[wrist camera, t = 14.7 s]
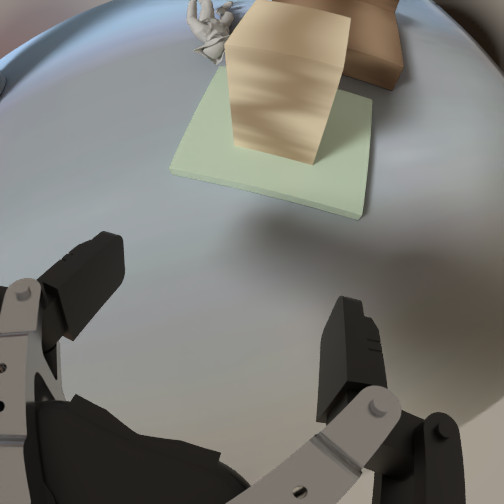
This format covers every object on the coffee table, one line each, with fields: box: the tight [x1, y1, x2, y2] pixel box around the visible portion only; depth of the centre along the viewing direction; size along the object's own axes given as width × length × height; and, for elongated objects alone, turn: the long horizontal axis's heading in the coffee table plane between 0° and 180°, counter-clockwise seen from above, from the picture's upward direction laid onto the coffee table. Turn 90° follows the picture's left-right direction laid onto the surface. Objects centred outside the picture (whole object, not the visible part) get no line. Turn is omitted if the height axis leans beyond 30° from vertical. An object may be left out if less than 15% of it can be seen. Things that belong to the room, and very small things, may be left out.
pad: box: [169, 66, 372, 220], centre depth 19 cm, size 12×10×1 cm
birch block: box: [224, 0, 351, 165], centre depth 15 cm, size 5×5×8 cm
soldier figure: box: [187, 0, 234, 65], centre depth 20 cm, size 8×5×12 cm
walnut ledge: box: [272, 0, 404, 91], centre depth 20 cm, size 12×12×6 cm
